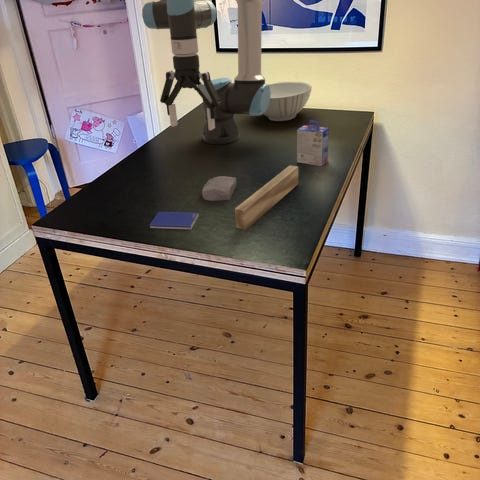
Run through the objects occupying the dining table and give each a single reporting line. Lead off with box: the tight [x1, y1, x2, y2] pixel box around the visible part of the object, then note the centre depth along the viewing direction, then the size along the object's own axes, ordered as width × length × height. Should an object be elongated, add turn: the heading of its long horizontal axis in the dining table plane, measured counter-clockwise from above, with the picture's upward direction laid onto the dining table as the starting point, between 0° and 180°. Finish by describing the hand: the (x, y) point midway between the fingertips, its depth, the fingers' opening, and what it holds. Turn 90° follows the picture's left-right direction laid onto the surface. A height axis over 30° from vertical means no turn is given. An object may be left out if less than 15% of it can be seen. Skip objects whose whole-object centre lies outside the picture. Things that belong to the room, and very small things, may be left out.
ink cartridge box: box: [296, 119, 330, 167], centre depth 165 cm, size 10×6×14 cm, turn 58°
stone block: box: [201, 175, 238, 202], centre depth 153 cm, size 12×5×10 cm
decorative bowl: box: [263, 81, 312, 122], centre depth 210 cm, size 27×27×12 cm
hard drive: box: [149, 211, 200, 230], centre depth 139 cm, size 2×8×12 cm
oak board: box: [234, 164, 299, 231], centre depth 142 cm, size 3×32×6 cm, turn 147°
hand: (192, 127), depth 148 cm, fingers open, 13 cm apart
